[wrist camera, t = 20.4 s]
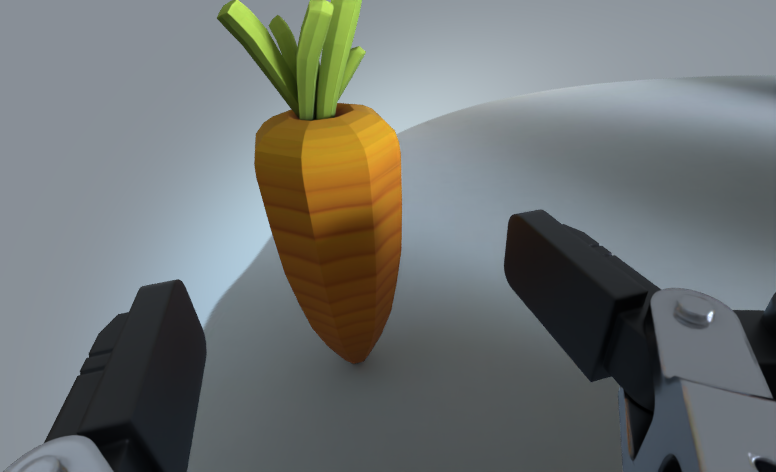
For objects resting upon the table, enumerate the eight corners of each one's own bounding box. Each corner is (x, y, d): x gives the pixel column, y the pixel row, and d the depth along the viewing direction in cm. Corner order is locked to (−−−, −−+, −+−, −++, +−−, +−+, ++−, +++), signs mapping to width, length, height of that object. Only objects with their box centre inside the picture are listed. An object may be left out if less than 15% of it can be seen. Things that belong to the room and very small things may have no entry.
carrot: (287, 403, 17) (160, -20, 9) (319, 320, 21) (251, -19, 13) (405, 412, 16) (377, -38, 8) (414, 324, 20) (401, -31, 13)
